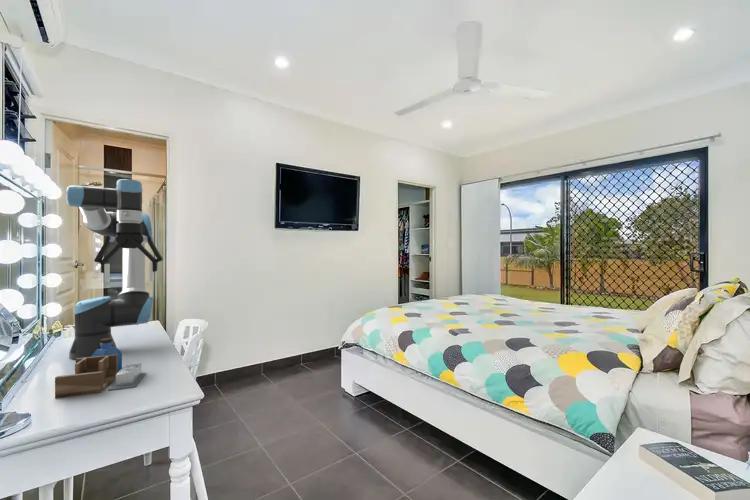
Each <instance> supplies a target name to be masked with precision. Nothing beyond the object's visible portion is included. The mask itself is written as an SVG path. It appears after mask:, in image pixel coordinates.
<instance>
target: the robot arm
mask: <svg viewBox="0 0 750 500" xmlns="http://www.w3.org/2000/svg"><path fill="white" fill-rule="evenodd" d="M65 193H66V195H65V197H66V198H65V199H66V203H67V205H68V206H69V207H74V208H75V207H76V208H79V210H80V212H81V215H82V216H83V217H82V221H83V224H84V225H85V227H86V228H87V229H89V230H90V231H91V232H93V233H95V234H98V235H101V236H104V237H105V241H104V242H103V244H102V247H101V248H100V249H99V251H98V252H97V255H96V256H95V258H94V260H93V261H94V262H95V263H97V264H98V263H99V264H100V272H101V274H104V278H103V279H104V281H103V282H104V283H110V282H111V277H110V276H111V275H110V274H111V269H110V267H111V264H110V263H108V262H109V261H110V260H112V259H113V257H115V256H116V255H117V253H118V252H120V250H122V261H121V263H122V264H121V265H122V267H121V268H122V270H121V271H122V272H121V274H122V275H121V276H122V277H121V278H122V279H121V292H119V293H118V294H117V298H116V299H112V298H111V296H109V295H108V296H98V297H93V298H87V299H83V300H80V301H78V302H77V303H76V304H75V305H74V313H73V315H74V340H73V342H72V344H71V347H70V349H69V353H68V358H69V360H76V359H77V358H84V357H91V356H92V355H93V353H94V352H95V351H96V350H97V349H101V346H100V343H101V339H104V338H112V340H111V341H112V342H113V344H112V347H117V345H116V342H115V340H114V337H113V335H112V328H114V327H115V328H116V327H125V326H135V325H136V326H138V325H142V324H147V323H149V322H150V320H151V316H152V310H153V304H154V303H153V302H154V297H153V296H150V292H149V291H147V289H146V257H147V258H148V259H149V260H150V261H151V262H150V263H149V282H154V281H155V272H157V271H158V263H159V262H162V261H163V260H164V258H163V257H162V255H161V253H160V252H159V250H158V248H157V246H156V244H155V243H154V240H153V239H154V238H153V230H152V222H151V218H150V216H149V214H147V213H143V183H142V182H140V181H139V180H137V179H130V178H128V179H127V178H121V179H118V180H117V181H116V187H115V188H109V187H97V186H96V187H95V186H85V185H84V186H83V185H68V186H67V188H66V192H65ZM106 209H111V210H112V209H113V210H114V209H115V210H116V211H115V212H113V211H106ZM114 241H116V242H117V244H116V245H115V246H114V247H113V248H112V250H110V252H108V249H109V248H110V246H111V244H112V243H114ZM146 243H147V244H148V246H149V247H150V249H151V251H152V252H153V254H154V255H152V254H151V252H150V251H148V250H147V249H146ZM107 252H108V253H107ZM106 253H107V255H105V254H106ZM154 256H155V257H154Z"/></svg>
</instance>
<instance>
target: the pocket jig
mask: <svg viewBox="0 0 750 500" xmlns="http://www.w3.org/2000/svg"><path fill="white" fill-rule="evenodd" d="M117 373H118V354H115V355H105V356H95V357H84V358H77V359H75V364H74V373H73V374H65V375H57V376H56V377H54V399H60V398H61V399H62V398H67V397H76V396H77V397H78V396H85V395H92V394H100V393H103V392H104V391H105V390H106V389H107V387H109V386H110V385H111V384H112V382H113V381H115V380H116V374H117Z"/></svg>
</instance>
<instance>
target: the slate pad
mask: <svg viewBox="0 0 750 500" xmlns="http://www.w3.org/2000/svg"><path fill="white" fill-rule="evenodd" d="M146 375H147V372H142V373H141V375H140V376H139V377H138V378H137V380H136V381H135V382H134V383H133V384H127V385H120V386H116V381H115V382H114V383H113V384H112V385H111V386H110V387H109V388H108V389H107V390H108V391H117V390H127V389H134V388H136V387H138V385H139V384H140V382H141V381H142V379H143V378H144V377H145V376H146Z"/></svg>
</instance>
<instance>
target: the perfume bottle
mask: <svg viewBox="0 0 750 500" xmlns="http://www.w3.org/2000/svg"><path fill="white" fill-rule="evenodd" d="M111 340H112V338H104V339H101V343H100V346H101V349H97V350H96V351H95V352H94V353H93V355H92V356H91V357H95V356H105V355H115V354H118V372H119V371H120V370H121V369H122V368H123V353H122V351H120V349H119V348H118V347H117V346H116V347H112V344H113V342H112V341H111Z"/></svg>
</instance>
